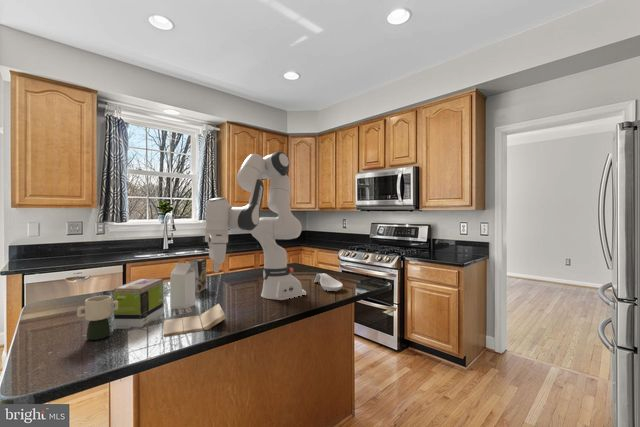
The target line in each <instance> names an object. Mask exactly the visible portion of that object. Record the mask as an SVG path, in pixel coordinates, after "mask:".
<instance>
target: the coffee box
mask: <svg viewBox="0 0 640 427" xmlns="http://www.w3.org/2000/svg"><path fill="white" fill-rule="evenodd" d="M187 264H190V266H191V267H192V268H193V270H194V271H195V294H197V293H201V292H203V291H205V289H207V258H194V259H191V260H188V262H187Z"/></svg>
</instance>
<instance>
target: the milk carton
mask: <svg viewBox="0 0 640 427" xmlns="http://www.w3.org/2000/svg"><path fill="white" fill-rule="evenodd" d="M169 278H170V279H169V281H170V289H169V292H170V294H169V296H170V297H169V298H170V300H169V301H170V302H169V307H170V308H169V309H171V310H179V309H187V308H191V307H193V306H195V305H196V293H195V271H194V270H193V268H192V267H191V266H190V264H188V263H182V262H181V263H180V262H176V263H175V266H174V268H173V269H172V271H171V272H170V276H169Z"/></svg>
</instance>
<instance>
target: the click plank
mask: <svg viewBox="0 0 640 427" xmlns="http://www.w3.org/2000/svg"><path fill="white" fill-rule="evenodd" d="M199 318H200V321H201V325H202V330H204V331H205V330H211V329H212V328H213V327H214V326H216V325H218V324H219V323H221V322H223V320H225V319H227V315H226V314H225V312H224V310H223V308H222V307H221V305H220V303H217V304H215V305H214V306H212V307H211V308H209V309H207V310H205V311H204V312H203V313H201V314H199Z"/></svg>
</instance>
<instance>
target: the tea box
mask: <svg viewBox="0 0 640 427" xmlns="http://www.w3.org/2000/svg"><path fill="white" fill-rule="evenodd" d="M164 297H165V296H164V279H163V278H140V279H139V278H138V279H136V280H132V281H131V282H128V283H125V284H122V285H120V286H117V287H114V288H113V301H118V310H115V311H113V315H114V318H113V320H114V323H113V324H114V329H117V330H118V329H119V330H130V329H131V328H142V327H143V326H144V327H145V325H147V324H149V323H150V322H153V321H154V320H155V319H157V318H159V317H160V316H162V315H164V313H165V306H164V300H165V299H164ZM113 308H115V304H113Z"/></svg>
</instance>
